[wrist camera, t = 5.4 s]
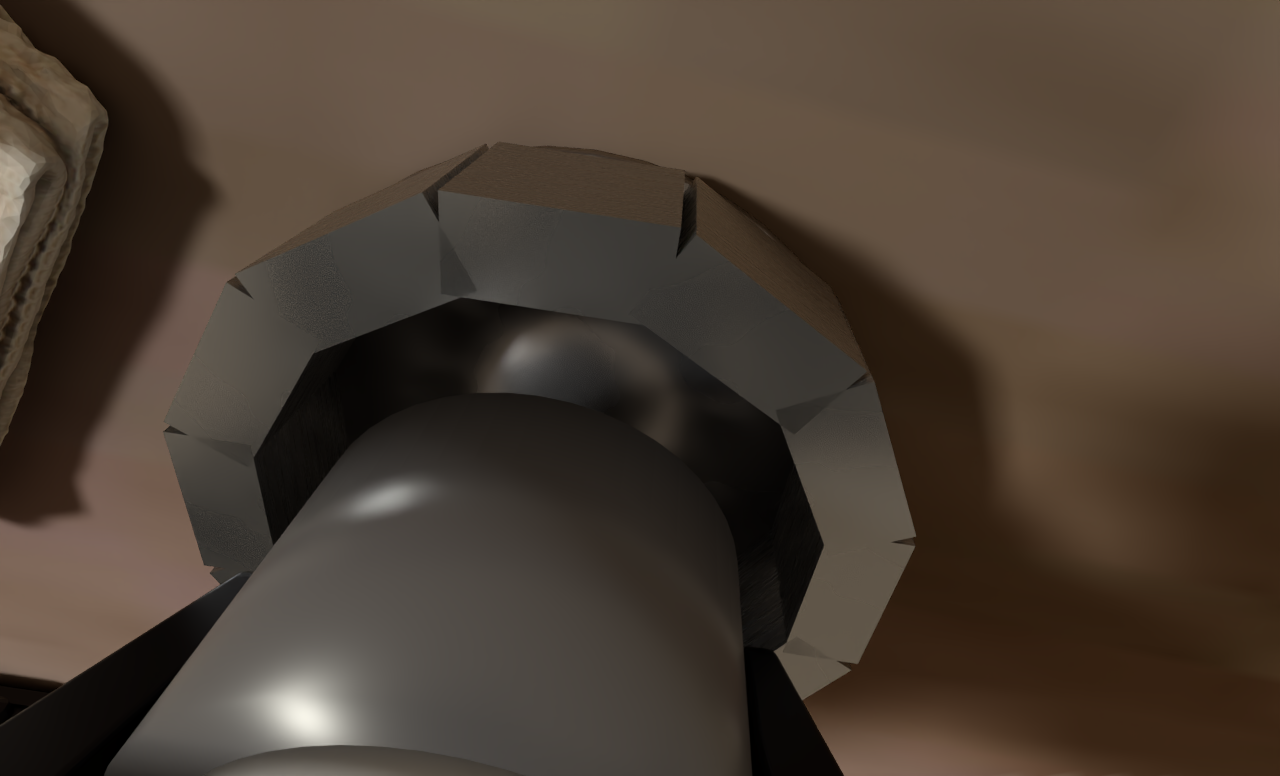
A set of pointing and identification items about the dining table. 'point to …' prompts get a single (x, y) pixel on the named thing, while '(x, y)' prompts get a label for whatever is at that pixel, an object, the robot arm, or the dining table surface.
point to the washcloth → (37, 192)
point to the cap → (476, 614)
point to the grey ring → (563, 369)
